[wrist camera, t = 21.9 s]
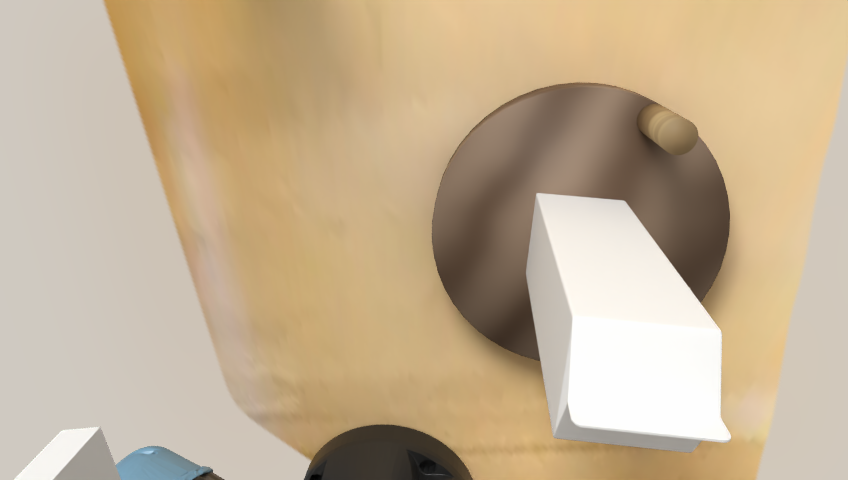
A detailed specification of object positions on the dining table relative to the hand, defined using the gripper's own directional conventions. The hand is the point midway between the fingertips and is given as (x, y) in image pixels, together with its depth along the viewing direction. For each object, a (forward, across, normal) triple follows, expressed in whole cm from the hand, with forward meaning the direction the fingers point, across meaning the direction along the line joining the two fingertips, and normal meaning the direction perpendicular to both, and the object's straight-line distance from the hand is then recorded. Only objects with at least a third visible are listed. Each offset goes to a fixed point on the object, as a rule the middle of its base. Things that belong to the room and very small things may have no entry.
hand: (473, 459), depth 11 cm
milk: (+34, +5, -9) cm, 36 cm away
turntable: (+37, +5, -9) cm, 38 cm away
